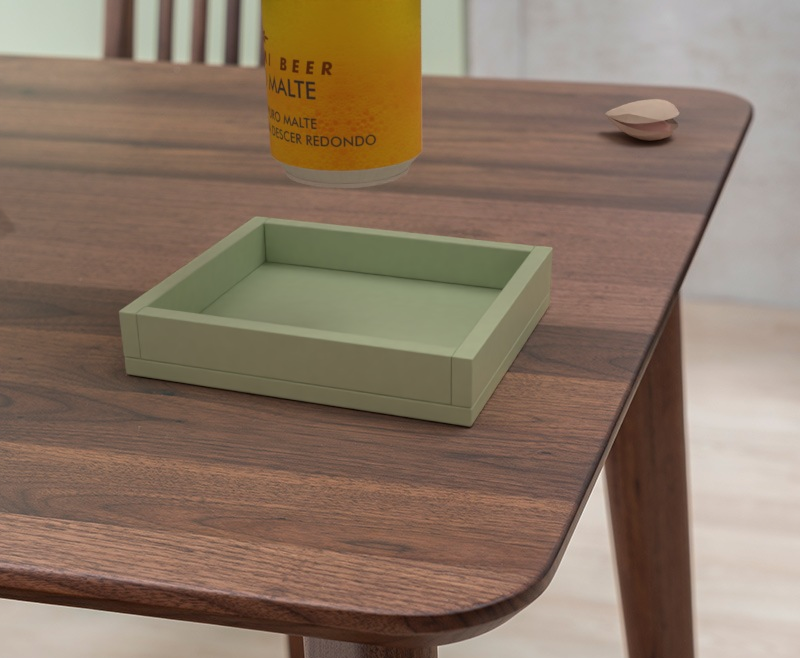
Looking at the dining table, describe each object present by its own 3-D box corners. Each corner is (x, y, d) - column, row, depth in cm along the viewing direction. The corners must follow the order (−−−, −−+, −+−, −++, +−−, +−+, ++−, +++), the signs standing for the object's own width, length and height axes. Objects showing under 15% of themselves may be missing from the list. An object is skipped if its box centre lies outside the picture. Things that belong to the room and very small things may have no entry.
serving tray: (125, 374, 51) (117, 310, 50) (258, 270, 62) (255, 215, 60) (471, 427, 46) (472, 359, 45) (550, 305, 57) (553, 247, 56)
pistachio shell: (660, 149, 81) (664, 110, 79) (590, 138, 83) (592, 100, 82) (686, 134, 84) (690, 96, 83) (618, 125, 86) (620, 88, 85)
